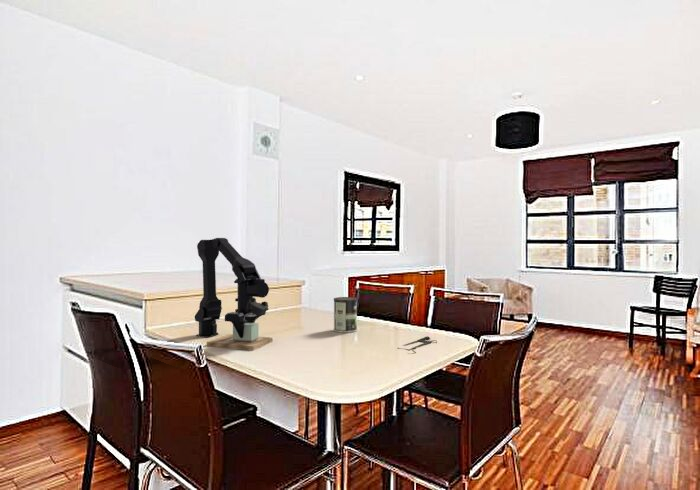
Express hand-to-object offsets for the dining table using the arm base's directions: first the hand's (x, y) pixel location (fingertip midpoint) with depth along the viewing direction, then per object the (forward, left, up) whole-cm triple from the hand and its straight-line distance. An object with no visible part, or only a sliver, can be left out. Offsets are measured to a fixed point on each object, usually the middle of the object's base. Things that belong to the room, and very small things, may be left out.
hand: (245, 336), depth 163 cm
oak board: (-2, 0, -3) cm, 4 cm away
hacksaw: (+63, +20, -4) cm, 66 cm away
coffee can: (+28, +36, -3) cm, 46 cm away
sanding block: (0, 0, -1) cm, 1 cm away
